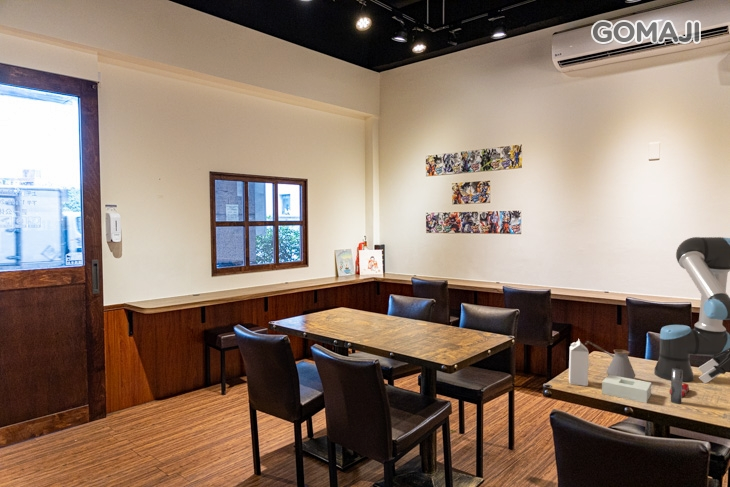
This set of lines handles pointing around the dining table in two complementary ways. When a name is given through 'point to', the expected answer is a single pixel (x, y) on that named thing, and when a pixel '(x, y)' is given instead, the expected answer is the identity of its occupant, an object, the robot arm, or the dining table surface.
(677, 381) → the peg
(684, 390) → the race car
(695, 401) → the dining table surface
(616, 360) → the coffee pot
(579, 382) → the milk carton
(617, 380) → the hole block
